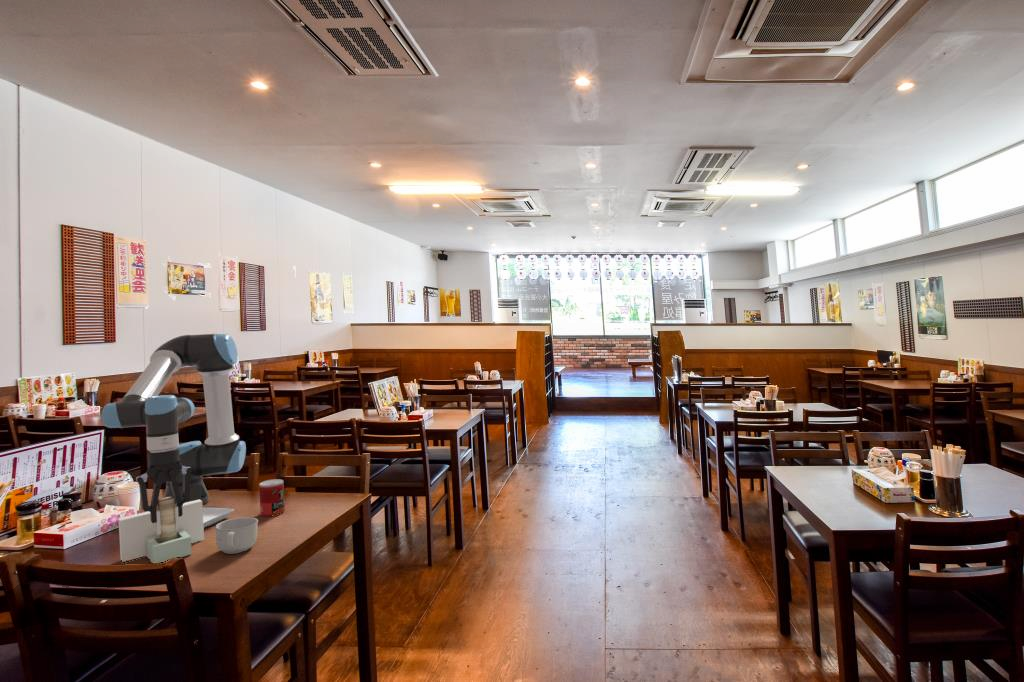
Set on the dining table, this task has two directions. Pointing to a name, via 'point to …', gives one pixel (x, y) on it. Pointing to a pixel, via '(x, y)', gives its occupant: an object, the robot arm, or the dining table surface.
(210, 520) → the salad plate
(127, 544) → the wall
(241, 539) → the teacup
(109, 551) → the dining table surface
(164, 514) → the dowel
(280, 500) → the canned food
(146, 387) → the robot arm
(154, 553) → the holed block
